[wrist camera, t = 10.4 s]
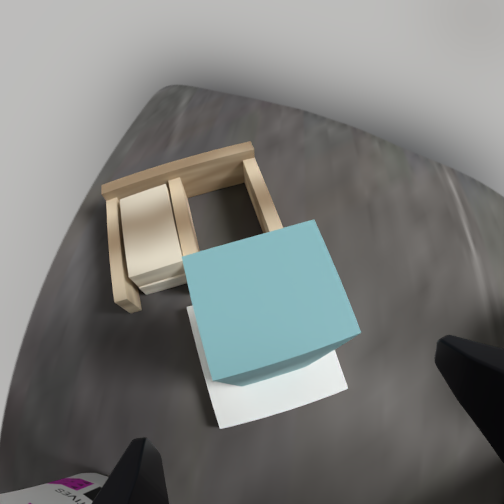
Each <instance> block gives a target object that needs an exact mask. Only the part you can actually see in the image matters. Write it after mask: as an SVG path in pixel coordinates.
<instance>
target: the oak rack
mask: <svg viewBox="0 0 504 504" xmlns="http://www.w3.org/2000/svg"><path fill="white" fill-rule="evenodd" d="M241 183H245V185H246V188H247V190H248V193H249V196H250V198H251V201H252V204H253V207H254V209H255V212H256V215H257V218H258V220H259V223H260V226H261V229H262V231H263V233H267V232H271V231H274V230H278V229H281V228H283V226H282V224H281V221H280V219H279V216H278V214H277V211H276V209H275V206H274V204H273V201H272V199H271V196H270V194H269V191H268V189H267V187H266V184H265V182H264V179H263V177H262V175H261V172H260V170H259V167H258V165H257V163H256V160H255V158H254V148H253V146H252V144H251V141H250V142H245V143H241V144H237V145H233V146H228V147H224V148H220V149H217V150H213V151H209V152H205V153H201V154H198V155H194V156H191V157H187V158H183V159H180V160H177V161H173V162H170V163H166V164H163V165H160V166H157V167H154V168H150V169H147V170H144V171H141V172H138V173H135V174H132V175H129V176H126V177H123V178H120V179H117V180H115V181H112V182H109V183H106V184H103V185H102V195H103V197H104V198H105V200H106V206H107V229H108V245H109V257H110V268H111V278H112V287H113V295H114V302H115V303H116V304H118V305H119V306H120V307H122V308H123V309H125V310H126V311H128V312H129V313H133V312H137V311H141V310H142V308H141V303H140V297H139V290H138V286H137V285H136V284H135V283H134V282H133V281H132V280H131V279H130V278H129V275H128V268H127V261H126V254H125V246H124V238H123V229H122V219H121V208H120V199H123V198H125V197H128V196H131V195H134V194H137V193H140V192H143V191H145V190H148V189H151V188H154V187H157V186H160V185H163V184H166V186H167V188H168V190H169V193H170V195H171V199H172V204H173V209H174V214H175V220H176V225H177V230H178V234H179V239H180V244H181V249H182V254H183V256H186V255H189V254H193V253H196V252H200V250H199V246H198V242H197V238H196V233H195V229H194V225H193V221H192V216H191V212H190V208H189V203H188V199H187V198H190V197H193V196H197V195H200V194H204V193H207V192H211V191H214V190H218V189H222V188H226V187H229V186H233V185H237V184H241Z"/></svg>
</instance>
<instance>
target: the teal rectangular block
mask: <svg viewBox="0 0 504 504" xmlns="http://www.w3.org/2000/svg"><path fill="white" fill-rule="evenodd" d="M182 261H183V265H184V270H185V274H186V279H187V283H188V288H189V292H190V296H191V300H192V304H193V309H194V313H195V317H196V321H197V325H198V329H199V332H200V336H201V340H202V344H203V348H204V351H205V355H206V359H207V362H208V366H209V370H210V373H211V377H212V380H213V381H216V382H221V383H226V384H231V385H236V386H246V385H249V384H253V383H256V382H260V381H263V380H266V379H270V378H273V377H276V376H279V375H282V374H285V373H289V372H292V371H295V370H298V369H301V368H304V367H306V366H308V365H310V364H311V363H313V362H315V361H317V360H318V359H320V358H322V357H323V356H325V355H327V354H328V353H330V352H332V351H333V350H335V349H336V348H338V347H340V346H341V345H343V344H344V343H346V342H347V341H349V340H351V339H352V338H354V337H355V336H357V335H358V334H360V333H361V331H360V328H359V326H358V323H357V320H356V318H355V315H354V313H353V310H352V308H351V305H350V303H349V300H348V298H347V295H346V293H345V290H344V288H343V285H342V283H341V280H340V278H339V276H338V273H337V271H336V268H335V266H334V264H333V261H332V259H331V257H330V254H329V252H328V250H327V247H326V245H325V243H324V241H323V238H322V236H321V234H320V232H319V229H318V227H317V225H316V223H315V220H311V221H307V222H303V223H300V224H296V225H292V226H289V227H285V228H281V229H278V230H274V231H271V232H267V233H263V234H260V235H256V236H253V237H249V238H246V239H242V240H239V241H235V242H231V243H228V244H224V245H221V246H217V247H214V248H210V249H207V250H203V251H200V252H196V253H193V254H189V255H186V256H182Z"/></svg>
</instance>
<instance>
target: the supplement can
mask: <svg viewBox="0 0 504 504" xmlns="http://www.w3.org/2000/svg"><path fill="white" fill-rule="evenodd" d="M107 479H108V477H107V476H104V475H101V474H98V473H80V474H77V475H74V476H70V477H67V478H64V479H60V480H57V481H53V482H50V483H46V484H42V485H39V486H35V487H30V488H26V489H22V490H17V491H13V492H8V493H3V494H0V504H92V502H93V501H94V499H95V497H96V496H97V494H98V493H99V491H100V490H101V488H102V487H103V485H104V483H105V482H106V480H107Z"/></svg>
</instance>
